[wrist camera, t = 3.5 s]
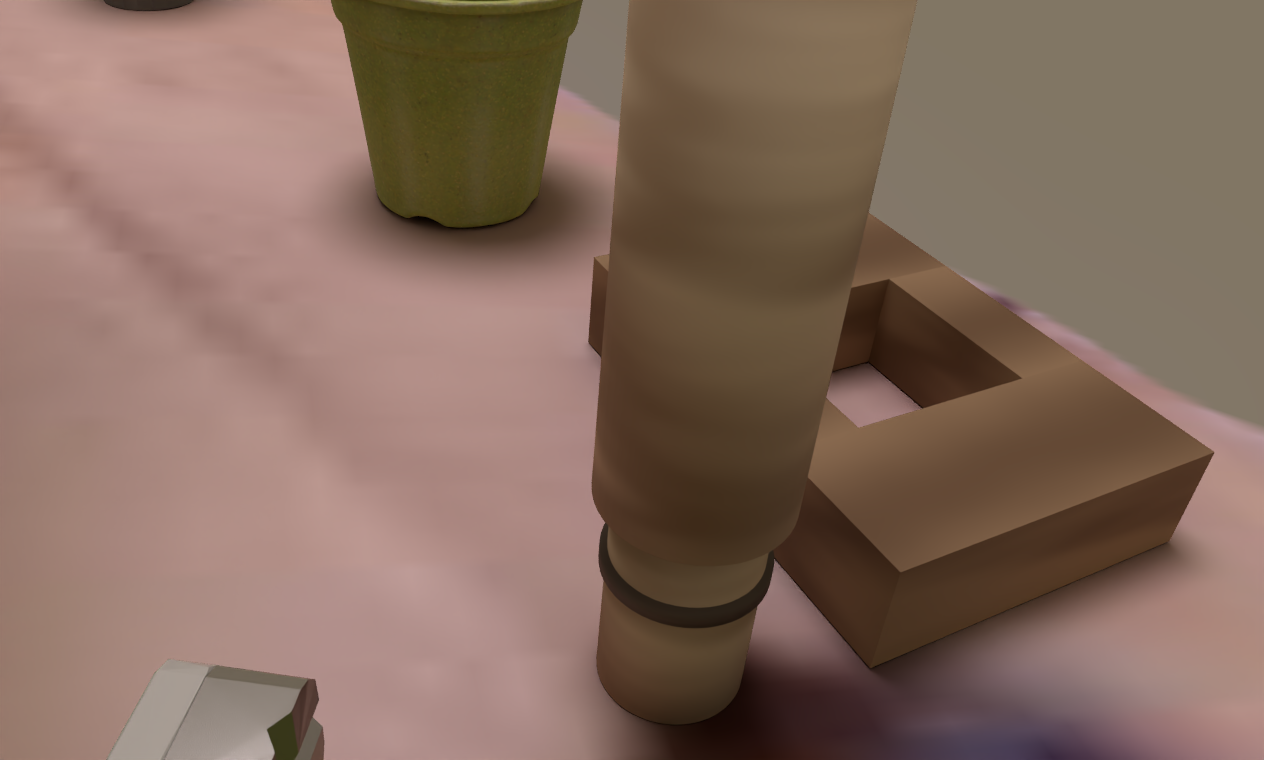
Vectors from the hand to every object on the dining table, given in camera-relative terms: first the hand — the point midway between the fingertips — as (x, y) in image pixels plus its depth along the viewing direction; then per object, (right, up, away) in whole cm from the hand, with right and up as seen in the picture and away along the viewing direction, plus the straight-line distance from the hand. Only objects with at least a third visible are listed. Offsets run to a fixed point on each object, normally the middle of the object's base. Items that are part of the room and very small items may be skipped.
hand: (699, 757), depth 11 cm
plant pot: (-7, +11, +30) cm, 33 cm away
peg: (0, -2, +12) cm, 12 cm away
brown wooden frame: (+6, +2, +20) cm, 21 cm away
